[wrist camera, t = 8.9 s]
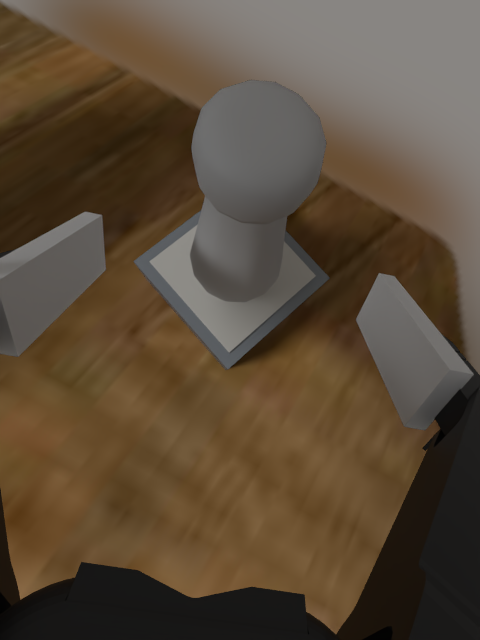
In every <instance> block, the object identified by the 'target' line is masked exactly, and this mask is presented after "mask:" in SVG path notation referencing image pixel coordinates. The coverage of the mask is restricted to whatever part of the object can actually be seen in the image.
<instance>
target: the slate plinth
mask: <svg viewBox="0 0 480 640" xmlns="http://www.w3.org/2000/svg"><path fill="white" fill-rule="evenodd" d="M200 214H201V211H199V212H198V213H197V214H195V215H194V216H193V217H191V218H190V219H189V220H187V221H186V222H185V223H184V224H182V225H181V226H180V227H178V228H177V229H176V230H174V231H173V232H172V233H170V234H169V235H168V236H166V237H165V238H164V239H162V240H161V241H160V242H158V243H157V244H156V245H154V246H153V247H152V248H151V249H149V250H148V251H147V252H145V253H144V254H143V255H141V256H140V257H139V258H137V259H136V260H135V261H134V263H135V264H136V266H137V267H138V268H139V270H140V271H141V273H142V274H143V275H144V277H145V278H146V279H147V280H148V282H149V283H150V284H151V285H152V286H153V287H154V289H155V290H156V291H157V292H158V293H159V294H160V295H161V297H162V298H163V299H164V300H165V301H166V302H167V303H168V305H169V306H170V307H171V308H172V309H173V310H174V312H175V313H176V314H177V315H178V316H179V317H180V318H181V320H182V321H183V322H184V323H185V324H186V325H187V326H188V328H189V329H190V330H191V331H192V332H193V333H194V334H195V336H196V337H197V338H198V339H199V340H200V341H201V343H202V344H203V345H204V346H205V347H206V348H207V349H208V351H209V352H210V353H211V354H212V355H213V356H214V357H215V359H216V360H217V361H218V362H219V363H220V364H221V365H222V367H223V368H224V369H225V370H228V369H229V368H230V367H231V366H232V365H234V364H235V363H236V362H237V361H238V360H239V359H240V358H241V357H242V356H244V355H245V354H246V353H247V352H248V351H249V350H250V349H251V348H252V347H254V346H255V345H256V344H257V343H258V342H259V341H260V340H261V339H263V338H264V337H265V336H266V335H267V334H268V333H269V332H270V331H271V330H273V329H274V328H275V327H276V326H277V325H278V324H279V323H280V322H281V321H283V320H284V319H285V318H286V317H287V316H288V315H289V314H290V313H292V312H293V311H294V310H295V309H296V308H297V307H298V306H299V305H300V304H302V303H303V302H304V301H305V300H306V299H307V298H308V297H309V296H311V295H312V294H313V293H314V292H315V291H316V290H317V289H318V288H319V287H321V286H322V285H323V284H324V283H325V282H326V281H327V280H328V279H329V277H328V276H327V274H326V273H325V272H324V271H323V270H322V269H321V268H320V267H319V266H318V265H317V264H316V263H315V262H314V260H313V259H312V258H311V257H310V256H309V255H308V254H307V253H306V252H305V251H304V250H303V249H302V247H301V246H300V245H299V244H298V243H297V242H296V241H295V240H294V239H293V238H292V237H291V236H290V234H289V233H288V232H287V231H286V230H285V237H284V247H283V257H282V263H281V268H280V273H279V278H278V279H277V280H276V281H275V283H274V284H273V285H272V286H271V287H270V288H269V290H268V291H267V292H266V293H265V294H263V295H261V296H259V297H256V298H254V299H252V300H250V301H247V302H225V301H223V300H221V299H219V298H217V297H215V296H213V295H211V294H209V293H207V291H206V290H205V289H204V288H203V286H202V285H201V284H200V282H199V281H198V280H197V279H196V277H195V276H194V273H193V269H192V264H191V259H190V252H191V248H192V244H193V240H194V237H195V233H196V229H197V225H198V221H199V218H200Z"/></svg>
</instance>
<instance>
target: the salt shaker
mask: <svg viewBox="0 0 480 640" xmlns="http://www.w3.org/2000/svg"><path fill="white" fill-rule="evenodd" d="M325 148H326V140H325V136H324V133H323V129H322V126H321V122H320V118H319V117H318V115H317V114H316V113H315V112H314V111H313V110H312V109H311V107H309V105H308V104H307V103H306V102H305V101H304V100H303V98H302V97H301V96H300V95H299V94H297V93H295V92H294V91H292V90H289V89H288V88H286V87H284V86H282V85H280V84H278V83H276V82H269V81H257V80H249V81H245V82H242V83H239V84H235V85H232V86H229V87H226V88H223V89H220V90H219V91H218V92H217V93H216V94H215V95H214V96H213V97H212V98H211V99H210V100H209V101H208V102H207V103H206V104H205V105H204V106H203V107H202V108H201V112H200V115H199V118H198V121H197V124H196V127H195V130H194V134H193V140H192V147H191V149H192V156H193V162H194V166H195V171H196V175H197V180H198V184H199V187H200V189H201V190H202V192H203V193H204V194H205V199H204V203H203V206H202V210H201V214H200V218H199V221H198V225H197V229H196V233H195V237H194V240H193V244H192V248H191V252H190V259H191V264H192V269H193V273H194V276H195V277H196V279H197V280H198V281H199V282H200V284H201V285H202V286H203V288H204V289H205V290H206V291H207V293H209V294H211V295H213V296H215V297H217V298H219V299H221V300H223V301H225V302H247V301H250V300H252V299H254V298H256V297H259V296H261V295H263V294H265V293H266V292H267V291H268V290H269V288H270V287H271V286H272V285H273V284H274V283H275V281H276V280H277V279H278V278H279V273H280V268H281V263H282V257H283V247H284V237H285V229H286V222H287V216H288V215H290V214H292V213H294V212H295V210H296V209H297V208H298V207H299V206H300V205H301V204H302V203H303V201H304V200H305V199H306V198H307V197H308V196H309V195H310V193H311V192H312V190H313V189H314V187H315V186H316V185H317V183H318V179H319V176H320V172H321V167H322V163H323V158H324V152H325Z"/></svg>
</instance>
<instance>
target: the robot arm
mask: <svg viewBox="0 0 480 640" xmlns="http://www.w3.org/2000/svg"><path fill="white" fill-rule="evenodd" d="M105 270H106V266H105V251H104V235H103V220H102V215H99V214H94V213H90V212H83V213H82V214H80V215H78V216H76V217H74V218H73V219H71V220H69V221H67V222H65V223H63V224H62V225H60V226H58V227H56V228H54V229H52V230H51V231H49V232H47V233H45V234H43V235H42V236H40V237H38V238H36V239H34V240H32V241H31V242H29V243H27V244H25V245H23V246H22V247H20V248H18V249H16V250H11V251H7V252H3V253H0V354H5V355H10V356H16V357H18V356H19V355H20V354H21V353H22V352H23V351H25V350H26V349H27V348H28V347H29V346H30V345H31V344H32V343H33V342H34V341H35V340H36V339H37V338H38V337H39V336H40V335H41V334H42V333H43V332H44V331H45V330H46V329H47V328H48V327H49V326H50V325H51V324H52V323H53V322H54V321H55V320H56V319H57V318H58V317H59V316H60V315H61V314H62V313H63V312H64V311H65V310H66V309H67V308H68V307H69V306H70V305H71V304H72V303H73V302H74V301H75V300H76V299H77V298H78V297H79V296H80V295H81V294H82V293H83V292H84V291H85V290H86V289H87V288H88V287H89V286H90V285H91V284H92V283H93V282H94V281H95V280H96V279H97V278H98V277H99V276H100V275H101V274H102V273H103V272H104V271H105ZM356 321H357V323H358V326H359V328H360V330H361V332H362V335H363V337H364V339H365V341H366V343H367V346H368V348H369V350H370V352H371V354H372V357H373V359H374V361H375V363H376V365H377V368H378V370H379V372H380V374H381V377H382V379H383V381H384V383H385V385H386V388H387V390H388V392H389V394H390V396H391V399H392V401H393V403H394V405H395V408H396V410H397V412H398V414H399V416H400V419H401V421H402V423H403V425H404V427H409V428H415V429H420V430H426V429H427V428H428V426H429V425H430V424H431V423H432V422H433V421H434V420H436V421H437V423H438V425H439V427H440V428H441V429H440V430H439V431H438V432H437V433H436V434H435V435H434V436H433V437H432V438H431V439H430V441H429V442H428V443H427V444H426V445H425V446H424V447H423V448H422V449H424V450H425V451H426V450H427V449H428V450H427V452H426V454H425V456H424V459H423V461H422V463H421V465H420V467H419V470H418V472H417V474H416V476H415V478H414V480H413V483H412V485H411V487H410V489H409V491H408V493H407V496H406V498H405V500H404V502H403V504H402V507H401V509H400V511H399V513H398V515H397V517H396V520H395V522H394V524H393V526H392V528H391V530H390V533H389V535H388V537H387V539H386V541H385V544H384V546H383V548H382V550H381V552H380V554H379V557H378V559H377V561H376V563H375V565H374V567H373V570H372V572H371V574H370V576H369V578H368V581H367V583H366V585H365V587H364V589H363V591H362V594H361V596H360V598H359V600H358V602H357V604H356V606H355V608H354V610H353V611H352V613H351V614H350V616H349V617H348V618H347V620H346V621H345V622H344V624H343V625H342V626H341V628H340V629H339V631H338V633H337V634H335V633H334V632H332V631H331V630H330V629H329V628H328V627H327V626H326V625H325V624H323V623H322V622H321V621H319V620H318V619H316V618H315V617H314V616H312V615H311V614H309V613H307V612H306V606H305V595H304V594H297V593H290V592H283V591H277V590H270V589H263V588H256V587H248V588H244V589H239V590H234V591H229V592H224V593H219V594H214V595H209V596H204V597H200V598H191V597H188V596H186V595H184V594H182V593H180V592H178V591H176V590H174V589H172V588H170V587H169V586H167V585H165V584H163V583H161V582H159V581H157V580H155V579H153V578H151V577H150V576H148V575H146V574H144V573H142V572H140V571H138V570H132V569H125V568H118V567H111V566H105V565H98V564H91V563H84V562H81V565H80V567H79V570H78V572H77V574H76V577H75V578H72V579H66V580H63V581H60V582H57V583H54V584H51V585H49V586H46V587H44V588H42V589H40V590H38V591H35V592H33V593H32V594H30V595H28V596H27V597H25V598H23V599H21V600H20V596H19V590H18V586H17V582H16V578H15V575H14V572H13V568H12V565H11V561H10V556H9V549H8V542H7V535H6V527H5V520H4V512H3V505H2V497H1V490H0V640H480V375H479V374H478V373H477V372H476V370H475V369H474V368H473V367H472V365H471V364H470V363H469V362H468V361H466V358H465V357H464V356H463V355H462V353H460V351H459V350H458V349H457V347H456V346H455V345H454V344H453V343H452V342H451V341H450V340H449V339H447V338H446V337H445V336H443V335H442V334H441V333H440V332H439V331H438V329H437V328H436V327H435V326H434V324H433V323H432V322H431V321H430V320H429V318H428V317H427V316H426V315H425V313H424V312H423V311H422V310H421V308H420V307H419V306H418V305H417V304H416V302H415V301H414V300H413V299H412V297H411V296H410V295H409V294H408V292H407V291H406V290H405V289H404V288H403V286H402V285H401V284H400V283H399V281H398V280H397V279H396V278H395V276H391V275H386V274H381V273H379V274H378V276H377V278H376V280H375V282H374V284H373V286H372V288H371V290H370V292H369V294H368V296H367V298H366V300H365V302H364V304H363V306H362V308H361V310H360V312H359V314H358V316H357V318H356Z"/></svg>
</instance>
